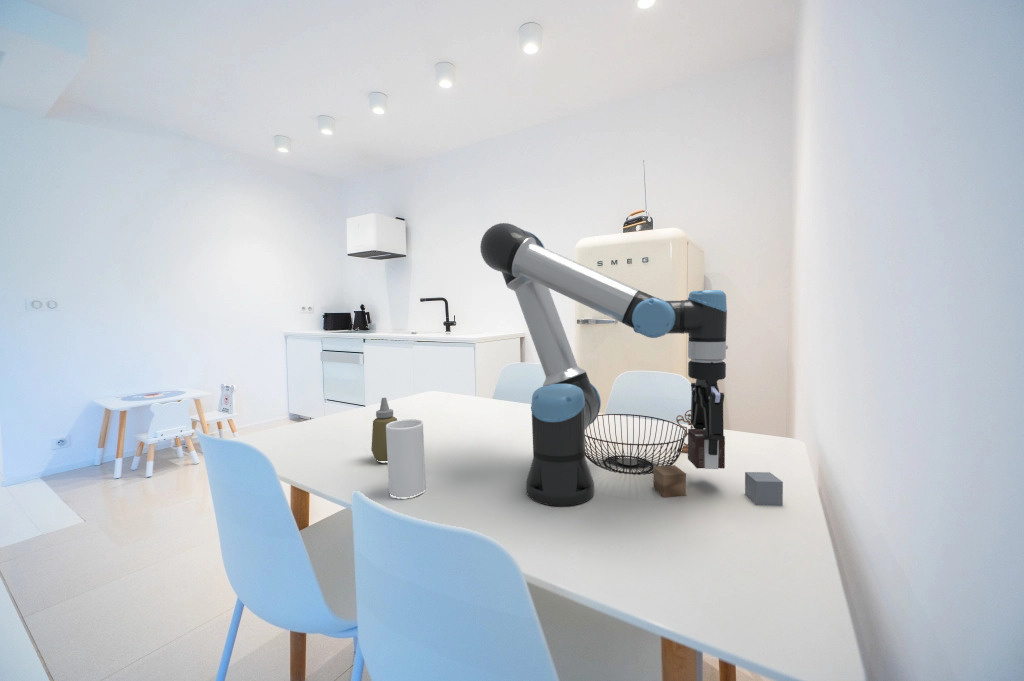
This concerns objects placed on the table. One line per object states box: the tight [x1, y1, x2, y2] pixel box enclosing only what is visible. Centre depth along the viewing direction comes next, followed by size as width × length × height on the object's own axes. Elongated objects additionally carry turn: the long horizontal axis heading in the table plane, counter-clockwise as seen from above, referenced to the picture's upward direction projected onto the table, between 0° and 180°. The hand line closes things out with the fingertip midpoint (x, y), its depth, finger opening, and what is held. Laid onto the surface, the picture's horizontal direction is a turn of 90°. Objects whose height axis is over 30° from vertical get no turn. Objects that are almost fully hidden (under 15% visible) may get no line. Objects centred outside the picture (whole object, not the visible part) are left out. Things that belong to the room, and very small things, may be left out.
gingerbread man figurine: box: [675, 409, 694, 455], centre depth 114 cm, size 9×4×12 cm, turn 61°
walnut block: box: [652, 464, 687, 498], centre depth 89 cm, size 5×5×5 cm
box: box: [687, 428, 726, 469], centre depth 91 cm, size 6×6×7 cm
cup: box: [386, 418, 427, 497], centre depth 93 cm, size 8×8×16 cm
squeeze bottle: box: [371, 397, 398, 461], centre depth 115 cm, size 8×8×18 cm
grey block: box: [744, 471, 784, 507], centre depth 84 cm, size 5×5×5 cm
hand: (705, 462), depth 91 cm, fingers closed on box, 6 cm apart
